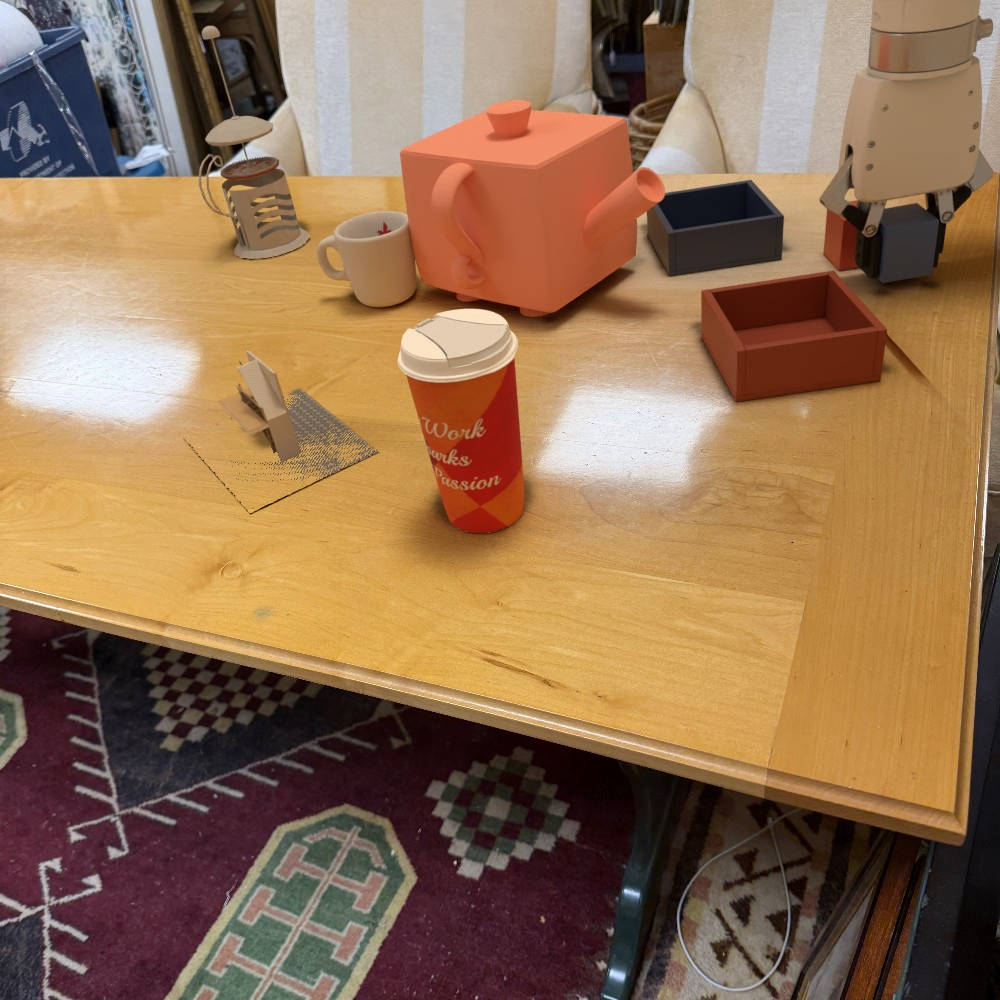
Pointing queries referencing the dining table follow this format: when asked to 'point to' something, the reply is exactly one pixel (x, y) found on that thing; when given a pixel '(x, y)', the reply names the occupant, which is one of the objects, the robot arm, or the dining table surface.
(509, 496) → the paper cup
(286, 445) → the architectural model
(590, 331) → the dining table surface
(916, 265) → the slate block
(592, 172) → the teapot
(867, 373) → the terracotta bin
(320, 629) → the dining table surface
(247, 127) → the french press
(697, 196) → the slate bin
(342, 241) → the cup
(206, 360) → the dining table surface
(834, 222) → the red block
